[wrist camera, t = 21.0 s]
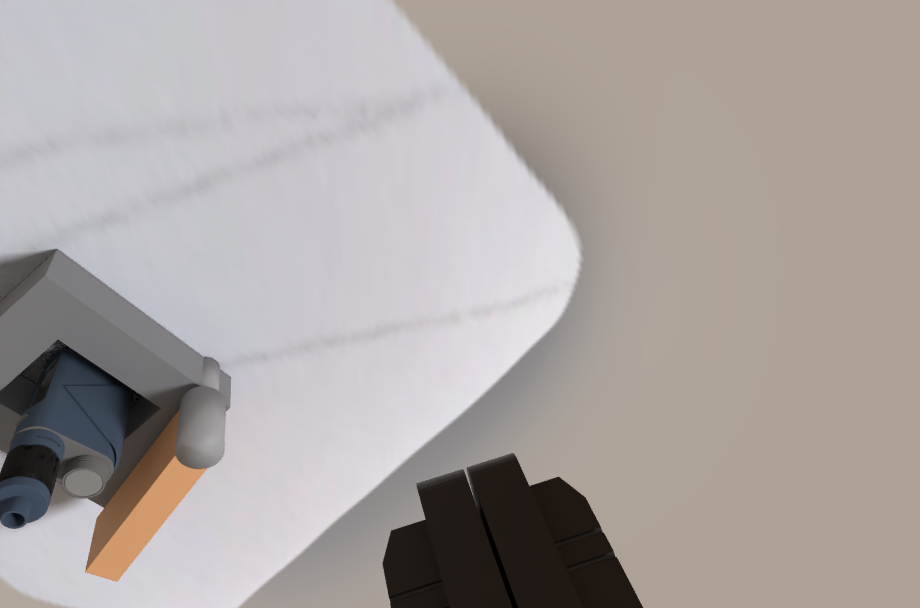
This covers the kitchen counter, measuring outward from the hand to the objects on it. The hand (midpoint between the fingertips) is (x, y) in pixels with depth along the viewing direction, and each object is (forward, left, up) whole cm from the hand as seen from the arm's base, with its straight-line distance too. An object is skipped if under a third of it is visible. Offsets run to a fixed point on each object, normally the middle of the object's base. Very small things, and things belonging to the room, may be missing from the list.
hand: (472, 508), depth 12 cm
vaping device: (+5, -22, -32) cm, 40 cm away
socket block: (+5, -22, -32) cm, 39 cm away
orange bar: (+10, -22, -29) cm, 37 cm away
